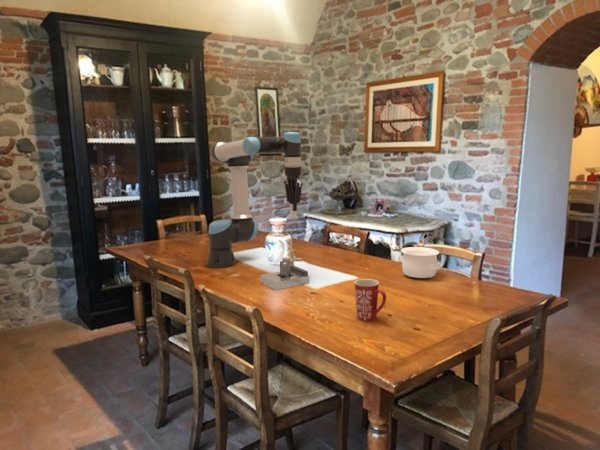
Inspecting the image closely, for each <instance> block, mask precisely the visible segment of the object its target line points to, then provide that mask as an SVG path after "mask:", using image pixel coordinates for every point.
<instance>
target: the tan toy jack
mask: <svg viewBox="0 0 600 450" xmlns="http://www.w3.org/2000/svg"><path fill="white" fill-rule="evenodd" d="M289 253H290V254H289V255H290V256H289V257H282V259H281V261H290V266H295V262H299V263H300V262H301V263H302V262H303V258H302V257H296V255H295V251H294V249H290V251H289Z"/></svg>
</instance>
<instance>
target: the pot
mask: <svg viewBox="0 0 600 450" xmlns="http://www.w3.org/2000/svg"><path fill="white" fill-rule="evenodd" d="M400 252H401V253H402V255H399V261H398V262H401V267H402V274H403V275H405V276H408V277H410V278H416V279H429V278H431V279H432V278H433V277H435V276H436V273H437V272H438V270H441V262H440V261H438V258H437V257H438V256H439V254H440V251H439V250H437V249H435V248H430V247H423V246H409V247H403V248H401V250H400Z"/></svg>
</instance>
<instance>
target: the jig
mask: <svg viewBox="0 0 600 450" xmlns="http://www.w3.org/2000/svg"><path fill="white" fill-rule="evenodd" d="M259 275H260V283H261V284H263V285H265V286H267V287H269V288H271V289H273V290H275V291H277V290H282V289H287V288H293V287H297V286H302V285H307V284H308V285H309V284H310V283H311V282H310V281H311V280H310V275H309V272H308V270H305V269H303V268H300V267H298V266H295V265H294V266H290V276H291V277H285V278H281V277H280V271H275V272H270V273H264V274H263V273H262V274H259Z"/></svg>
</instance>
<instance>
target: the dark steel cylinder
mask: <svg viewBox="0 0 600 450" xmlns="http://www.w3.org/2000/svg"><path fill="white" fill-rule="evenodd" d="M279 272H280V277H281V278H285V277H291V276H290V261H282V260H281V261H279Z"/></svg>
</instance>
